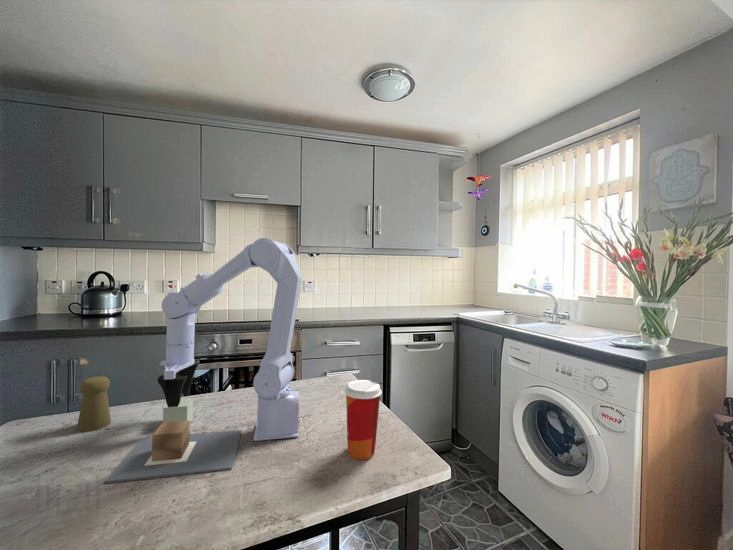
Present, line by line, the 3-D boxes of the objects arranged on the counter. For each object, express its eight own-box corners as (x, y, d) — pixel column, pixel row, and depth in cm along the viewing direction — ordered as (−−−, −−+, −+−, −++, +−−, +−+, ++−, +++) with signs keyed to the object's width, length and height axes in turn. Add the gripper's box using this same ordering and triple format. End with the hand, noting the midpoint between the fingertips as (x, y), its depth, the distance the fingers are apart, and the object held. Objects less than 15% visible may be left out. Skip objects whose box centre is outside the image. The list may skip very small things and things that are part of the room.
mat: (241, 431, 73) (241, 429, 73) (231, 469, 59) (231, 466, 59) (141, 440, 68) (141, 438, 68) (105, 483, 54) (105, 480, 54)
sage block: (193, 417, 79) (193, 397, 79) (186, 427, 74) (187, 406, 74) (170, 419, 78) (170, 399, 78) (162, 429, 73) (163, 407, 73)
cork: (91, 433, 70) (92, 383, 70) (69, 430, 71) (70, 380, 71) (117, 421, 76) (118, 375, 75) (97, 417, 77) (98, 372, 77)
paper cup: (361, 438, 72) (363, 376, 71) (387, 453, 66) (389, 386, 66) (334, 451, 66) (336, 384, 66) (359, 468, 61) (362, 395, 61)
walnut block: (189, 444, 66) (189, 420, 66) (181, 458, 61) (181, 432, 61) (162, 446, 65) (162, 422, 65) (151, 461, 60) (152, 435, 60)
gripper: (172, 336, 82) (170, 389, 82) (148, 350, 67) (146, 414, 68) (202, 336, 83) (200, 387, 83) (185, 350, 69) (183, 412, 69)
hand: (178, 399), depth 76 cm, fingers open, 7 cm apart
